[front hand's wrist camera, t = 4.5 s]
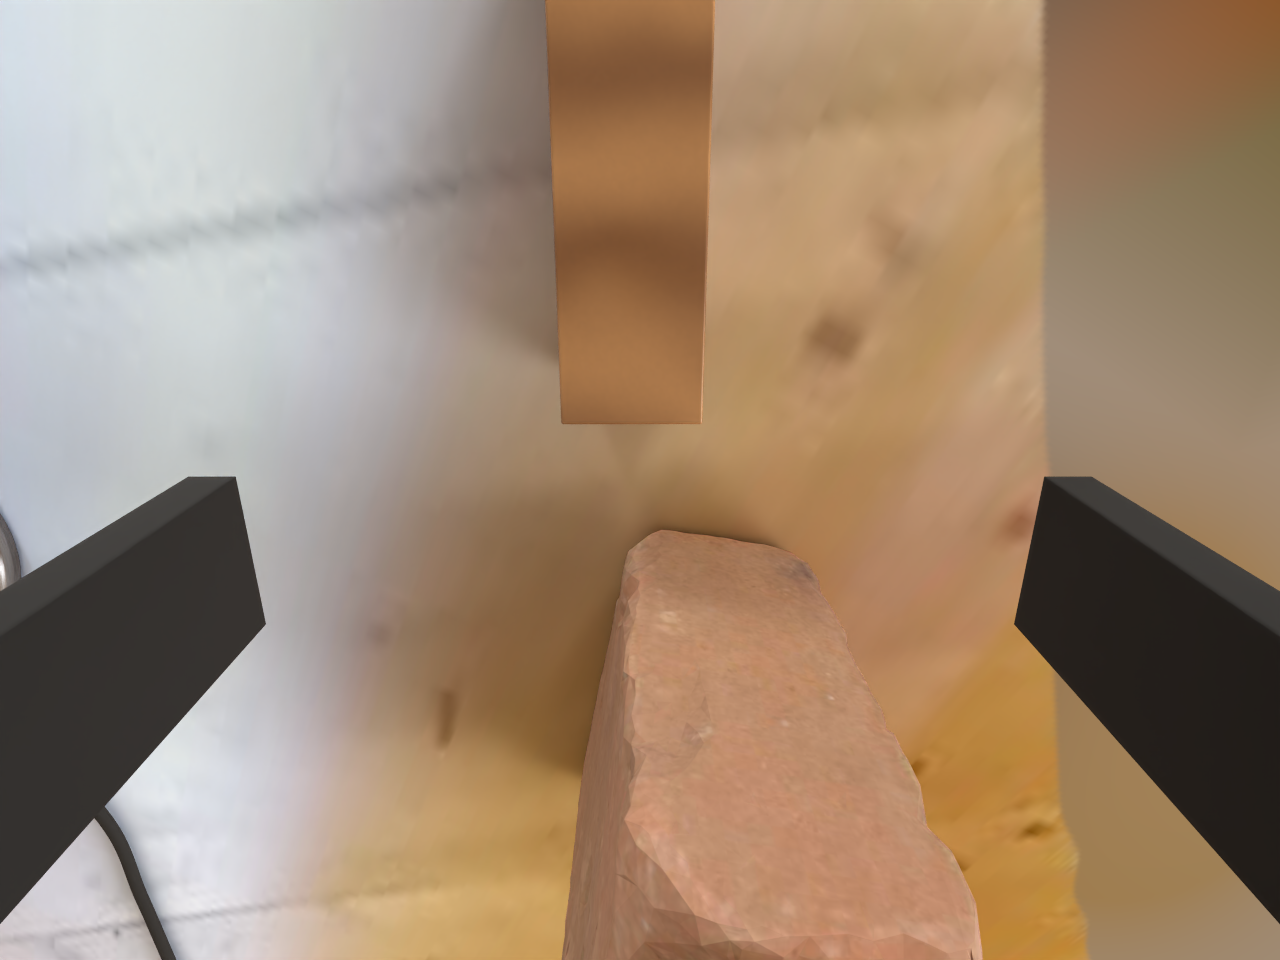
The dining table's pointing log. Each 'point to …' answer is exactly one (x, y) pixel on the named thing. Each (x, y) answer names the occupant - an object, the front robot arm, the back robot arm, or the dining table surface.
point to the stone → (749, 780)
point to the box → (630, 205)
